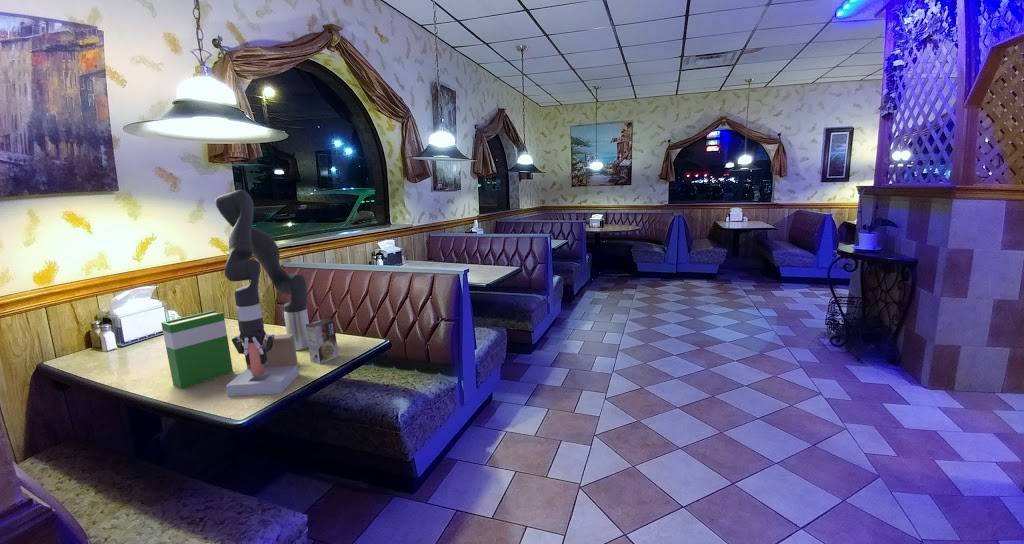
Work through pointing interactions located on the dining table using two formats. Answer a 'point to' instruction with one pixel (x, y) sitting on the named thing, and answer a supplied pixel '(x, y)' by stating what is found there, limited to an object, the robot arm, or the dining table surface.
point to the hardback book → (197, 348)
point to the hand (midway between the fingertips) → (257, 363)
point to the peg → (255, 360)
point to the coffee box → (322, 341)
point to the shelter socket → (269, 370)
